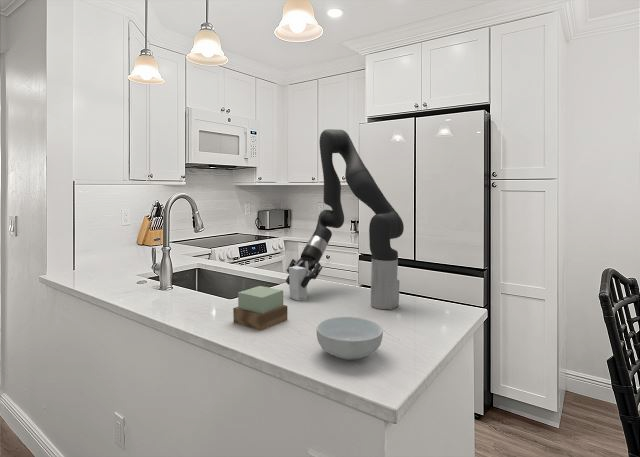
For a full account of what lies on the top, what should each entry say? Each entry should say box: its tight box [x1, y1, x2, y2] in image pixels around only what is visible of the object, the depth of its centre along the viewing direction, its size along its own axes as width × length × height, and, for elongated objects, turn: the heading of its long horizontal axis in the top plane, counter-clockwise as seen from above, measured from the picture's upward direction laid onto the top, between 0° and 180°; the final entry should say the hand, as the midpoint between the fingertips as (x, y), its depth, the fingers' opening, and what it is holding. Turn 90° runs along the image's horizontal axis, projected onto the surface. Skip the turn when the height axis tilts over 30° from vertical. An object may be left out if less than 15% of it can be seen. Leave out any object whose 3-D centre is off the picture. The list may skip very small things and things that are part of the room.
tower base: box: [232, 304, 288, 331], centre depth 128 cm, size 12×12×5 cm
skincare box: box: [288, 266, 308, 302], centre depth 152 cm, size 6×4×12 cm
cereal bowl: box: [316, 316, 384, 361], centre depth 104 cm, size 17×17×7 cm
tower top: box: [237, 285, 284, 314], centre depth 127 cm, size 10×10×5 cm
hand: (295, 284), depth 151 cm, fingers closed on skincare box, 6 cm apart
